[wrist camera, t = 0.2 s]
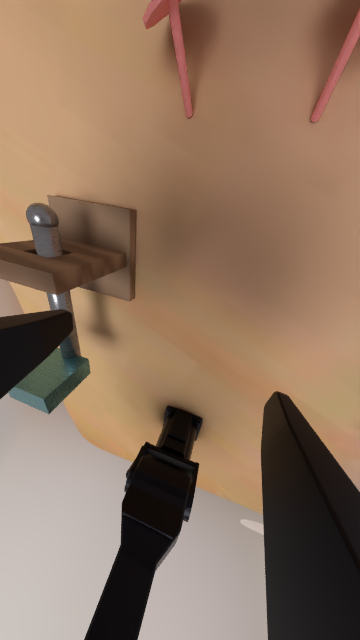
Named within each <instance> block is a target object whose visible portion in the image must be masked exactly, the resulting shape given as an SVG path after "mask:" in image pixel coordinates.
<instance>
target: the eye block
mask: <svg viewBox="0 0 360 640" xmlns="http://www.w3.org/2000/svg"><path fill="white" fill-rule="evenodd" d="M47 196H48V201H49V206H50V207H51V208H52V209H53V210H54V211H55V213H56V214H57V216H58V219H59V225H58V227H59V232H60V238H61V244H62V249H63V255H60V256H55V257H50V258H48V257H44V256H40V255H37V252H36V248H35V243H34V240H31V241H21V242H11V243H1V244H0V279H4V280H7V281H10V282H14V283H17V284H20V285H24V286H27V287H31V288H34V289H37V290H41V291H44V292H47V293H51V294H54V295H59V294H61V293H64V292H66V291H69V290H71V289H74V288H76V287H80V288H84V289H87V290H91V291H95V292H98V293H102V294H105V295H109V296H112V297H116V298H120V299H123V300H127V301H131V300H132V299H134V298H135V242H136V210H132V209H127V208H121V207H115V206H110V205H104V204H98V203H93V202H87V201H81V200H75V199H70V198H64V197H58V196H51V195H47Z"/></svg>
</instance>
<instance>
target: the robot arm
mask: <svg viewBox="0 0 360 640" xmlns="http://www.w3.org/2000/svg"><path fill="white" fill-rule="evenodd" d="M73 328H74V326H73V316H72V313H71V312H69V311H66V310H64V309H59V310H51V311H44V312H36V313H29V314H22V315H14V316H6V317H0V399H1V398H2V397H3V396H4V395H6V394H7V393H8V392H9V391H10V390H11V389H12V388H14V387H15V386H16V385H17V384H18V383H19V382H20V381H22V380H23V379H24V378H25V377H26V376H27V375H28V374H30V373H31V372H32V371H33V370H34V369H35V368H36V367H38V366H39V365H40V364H41V363H42V362H43V361H44V360H45V359H46V358H48V357H49V356H50V355H51V354H52V352H53V351H54V350H55V349H56V348H57V347H58V346H59V345H60V344H61V343H62V342H63V341H64V340H65V339H66V338H67V337H68V336H69V335H70V333H71V332H72V331H73ZM202 421H203V420H202V419H201V418H199V417H196V416H193V415H191V414H188V413H186V412H183V411H180V410H178V409H175V408H172V407H170V406H167V408H166V412H165V418H164V424H163V429H162V431H161V434H160V436H159V439H158V442H157V444H156V446H154V445H152V444H149V442H146V443H145V445H144V446H142V447H141V449H140V452H139V454H138V456H137V457H136V459H135V461H134V462H133V463H132V465H131V466H130V468H129V469H128V471H127V473H126V478H127V481H126V486H125V492H126V494H125V497H124V499H123V502H122V521H121V522H122V523H121V545H120V548H119V551H118V554H117V556H116V559H115V561H114V564H113V566H112V569H111V572H110V575H109V577H108V580H107V582H106V585H105V587H104V590H103V593H102V595H101V598H100V600H99V603H98V605H97V608H96V611H95V613H94V616H93V618H92V621H91V624H90V626H89V629H88V631H87V634H86V636H85V639H84V640H137V639H138V635H139V631H140V628H141V624H142V620H143V616H144V612H145V608H146V604H147V600H148V596H149V592H150V589H151V585H152V581H153V577H154V574H155V571H156V570H157V568H158V567H159V566H160V564H161V563H162V561H163V560H164V559H165V557H166V556H167V555H168V553H169V552H170V551H171V549H172V548H173V547H174V545H175V544H176V541H177V539H178V536H179V534H180V531H181V527H182V522H183V520H184V521H186V522H188V520H189V516H190V512H191V508H192V503H193V498H194V493H195V487H196V480H197V474H198V468H199V463H197V462H196V463H195V462H192V461H190V458H191V454H192V449H193V445H194V441H196V439H197V436H198V433H199V430H200V427H201V425H202ZM261 468H262V494H263V521H264V546H265V574H266V599H267V624H268V625H267V626H268V640H360V492H359V490H358V489H357V488H356V486H355V485H354V484H353V482H352V481H351V480H350V478H349V477H348V476H347V474H346V473H345V472H344V470H343V469H342V467H341V466H340V465H339V463H338V462H337V461H336V459H335V458H334V457H333V455H332V454H331V453H330V451H329V450H328V449H327V447H326V446H325V445H324V443H323V442H322V441H321V439H320V438H319V436H318V435H317V434H316V432H315V431H314V430H313V428H312V427H311V426H310V424H309V423H308V422H307V420H306V419H305V418H304V416H303V415H302V414H301V412H300V411H299V410H298V408H297V407H296V406H295V404H294V403H293V401H292V400H291V399H290V397H289V396H288V395H286V394H283V393H281V392H278V391H276V392H274V393H273V394H272V396H271V397H270V398H269V400H268V401H267V402H266V404H265V406H264V414H263V427H262V441H261Z"/></svg>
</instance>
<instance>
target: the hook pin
mask: <svg viewBox="0 0 360 640" xmlns="http://www.w3.org/2000/svg"><path fill="white" fill-rule="evenodd" d="M26 217H27V220H28V222H29V223H30V227H31V231H32V235H33V239H34V243H35V248H36V252H37V255H40V256H44V257H48V258H50V257H55V256H60V255H63V249H62V244H61V238H60V232H59V227H58V225H59V219H58V216H57V214H56V213H55V211H54V210H53V209H52V208H51V207H49V206H48V205H45V204H43V203H33V204H31V205H30V206H29V207H28V208H27V210H26ZM47 296H48V301H49V305H50V309H51V310H59V309H64V310H66V311H69V312H71V313H72V316H73V326H74V328H73V331H72V332H71V333H70V335H69V336H68V337H67V338H66V339H65V340H64V341H63V342H62V343H61V344H60V349H59V348H56V349H55V350H54V351H53V352H52V354H51V355H50V356H49V357H48V358H46V359H45V360H44V361H43V362H42V363H41V364H40V365H39V366H38V367H36V368H35V369H34V370H33V371H32V372H31V373H30V374H28V375H27V376H26V377H25V378H24V379H23V380H22V381H20V382H19V383H18V384H17V385H16V386H15V387H14V388H12V389H11V390H10V391H9V392H8V393H9V395H10V397H12V398H14V399H16V400H19V401H21V402H23V403H25V404H28V405H30V406H32V407H34V408H36V409H39V410H41V411H43V412H45V413H48V414H50V413H51V412H52V411H53V410H54V408H56V407H57V406H58V405H59V404H60V403H61V402H62V401H63V400H64V399H65V398H66V397H67V396H68V395H69V394H70V393H71V392H72V391H73V390H74V389H75V388H76V387H77V386H78V385H79V384H80V383H81V382H82V381H83V380H84V379H85V378H86V377H87V376H88V375H89V374H90V366H89V360H88V359H87V358H84V357H81V352H80V346H79V341H78V335H77V329H76V324H75V318H74V312H73V307H72V301H71V295H70V290H69V291H66V292H64V293H61V294H59V295H54V294H51V293H47Z"/></svg>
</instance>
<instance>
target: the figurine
mask: <svg viewBox="0 0 360 640" xmlns="http://www.w3.org/2000/svg"><path fill="white" fill-rule="evenodd" d="M181 1H182V0H152V1H151V2H150V4H149V5H148V8H147V10H146V12H145V14H144V16H143V21H144V24H145V26H146V29H148V28H150V27H152V26H154V25H155V24H156V23H158V22H159V21H160V20H162V19H163V18H164V17H166V16H167V15H168V14H169V17H170V23H171V29H172V35H173V40H174V46H175V52H176V58H177V64H178V70H179V76H180V82H181V88H182V94H183V100H184V106H185V112H186V116H187V117H191V116H192V114H193V110H192V103H191V95H190V88H189V80H188V73H187V66H186V58H185V51H184V43H183V36H182V28H181V21H180V13H179V6H178V5H179V3H180V2H181ZM359 37H360V9H359V11H358V13H357V16H356V18H355V20H354V22H353V25H352V27H351V29H350V31H349V34H348V36H347V38H346V40H345V43H344V45H343V47H342V49H341V51H340V54H339V56H338V58H337V60H336V63H335V65H334V67H333V69H332V72H331V74H330V76H329V78H328V81H327V83H326V85H325V87H324V89H323V92H322V94H321V96H320V98H319V101H318V103H317V105H316V107H315V110H314V112H313V114H312V116H311V121H313V122H316V121H318V120H319V118H320V116H321V114H322V112H323V110H324V108H325V106H326V104H327V102H328V100H329V98H330V96H331V94H332V92H333V90H334V87H335V85H336V83H337V81H338V79H339V77H340V75H341V73H342V71H343V69H344V67H345V65H346V63H347V61H348V59H349V57H350V55H351V53H352V51H353V49H354V47H355V45H356V43H357V41H358V39H359Z"/></svg>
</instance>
